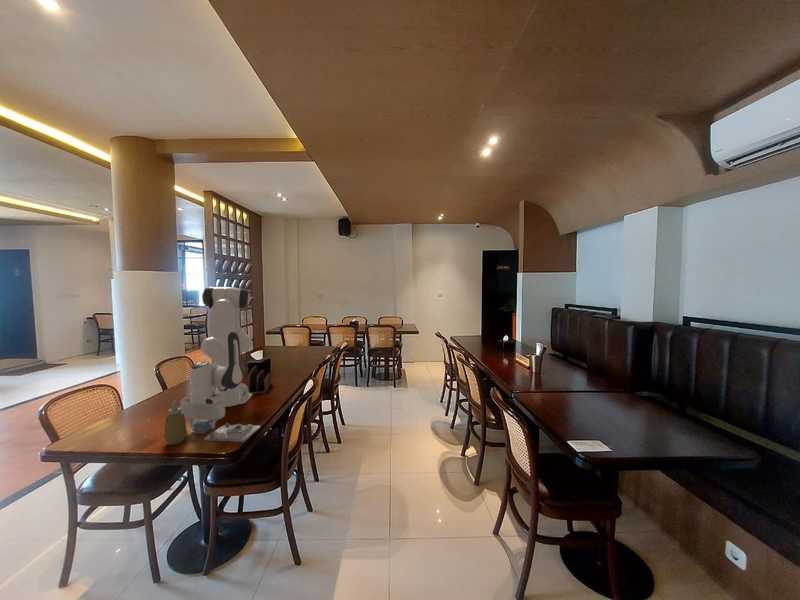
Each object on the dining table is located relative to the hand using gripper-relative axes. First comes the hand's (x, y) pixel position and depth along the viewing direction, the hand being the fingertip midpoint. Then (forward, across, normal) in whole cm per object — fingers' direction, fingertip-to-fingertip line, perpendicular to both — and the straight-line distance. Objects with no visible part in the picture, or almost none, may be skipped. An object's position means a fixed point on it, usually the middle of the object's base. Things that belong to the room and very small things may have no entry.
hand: (202, 427), depth 152 cm
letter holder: (+2, -5, +63) cm, 63 cm away
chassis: (+2, +16, -2) cm, 16 cm away
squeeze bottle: (+2, -4, -11) cm, 12 cm away
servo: (+2, 0, 0) cm, 2 cm away
